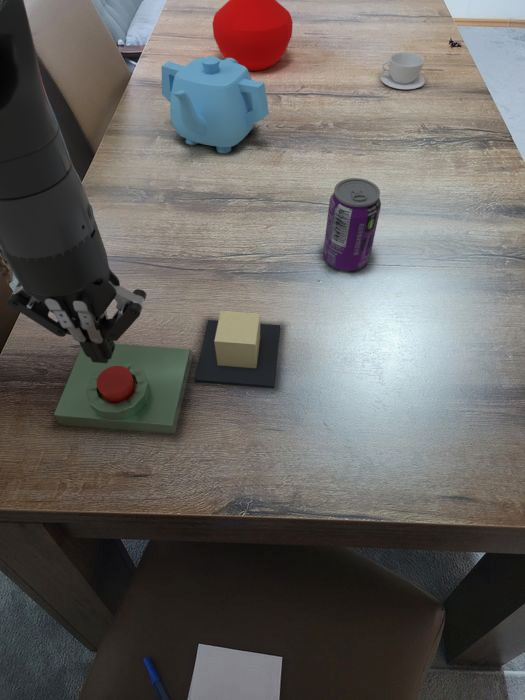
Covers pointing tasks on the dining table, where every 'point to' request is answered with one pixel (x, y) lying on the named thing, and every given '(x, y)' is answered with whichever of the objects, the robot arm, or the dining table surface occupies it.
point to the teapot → (213, 101)
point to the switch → (115, 383)
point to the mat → (240, 375)
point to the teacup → (403, 71)
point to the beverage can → (351, 223)
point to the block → (237, 339)
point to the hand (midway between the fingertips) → (103, 356)
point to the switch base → (144, 403)
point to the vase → (253, 32)
